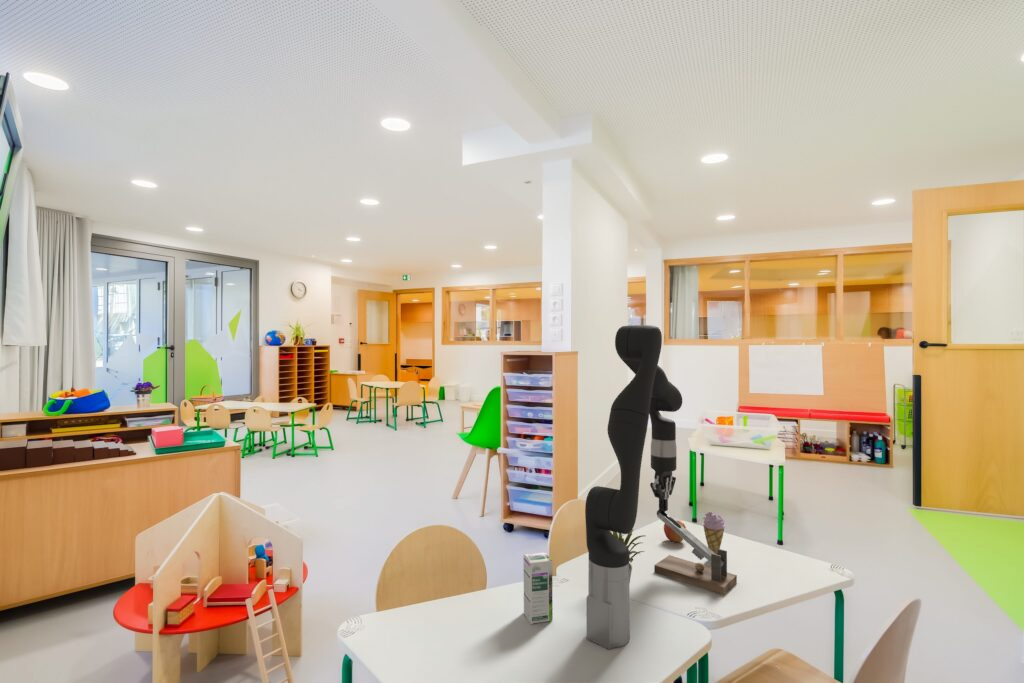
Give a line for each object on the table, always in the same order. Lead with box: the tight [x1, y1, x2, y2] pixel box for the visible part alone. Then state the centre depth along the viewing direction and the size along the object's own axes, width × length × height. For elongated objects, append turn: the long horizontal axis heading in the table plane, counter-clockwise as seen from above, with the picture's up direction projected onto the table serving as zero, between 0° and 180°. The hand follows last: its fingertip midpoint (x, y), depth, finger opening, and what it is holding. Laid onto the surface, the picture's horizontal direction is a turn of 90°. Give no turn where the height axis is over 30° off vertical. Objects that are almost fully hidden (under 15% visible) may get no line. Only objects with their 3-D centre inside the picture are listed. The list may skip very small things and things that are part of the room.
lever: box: [656, 509, 725, 567], centre depth 142 cm, size 3×22×3 cm, turn 47°
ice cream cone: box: [702, 510, 726, 555], centre depth 153 cm, size 7×6×15 cm
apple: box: [663, 520, 687, 543], centre depth 167 cm, size 7×7×8 cm
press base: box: [653, 548, 738, 596], centre depth 140 cm, size 10×20×9 cm, turn 47°
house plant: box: [612, 528, 645, 585], centre depth 132 cm, size 14×14×16 cm
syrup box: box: [522, 551, 554, 625], centre depth 118 cm, size 6×6×14 cm
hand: (663, 510), depth 147 cm, fingers closed
